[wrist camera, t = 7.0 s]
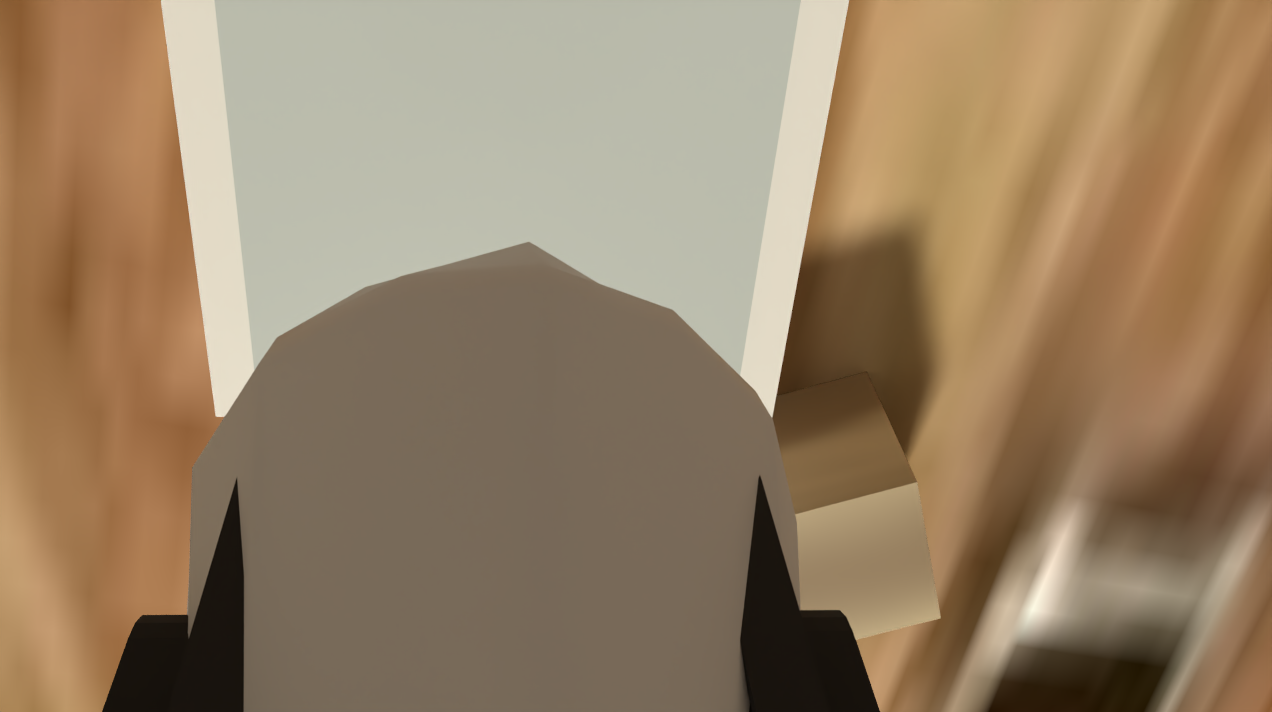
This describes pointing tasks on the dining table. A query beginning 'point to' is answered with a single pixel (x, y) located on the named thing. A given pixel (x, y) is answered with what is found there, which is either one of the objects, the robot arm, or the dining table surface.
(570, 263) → the base block
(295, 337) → the salt shaker
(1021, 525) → the dining table surface
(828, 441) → the tan block
